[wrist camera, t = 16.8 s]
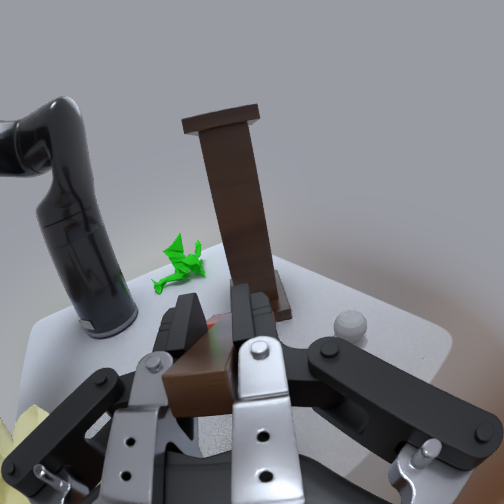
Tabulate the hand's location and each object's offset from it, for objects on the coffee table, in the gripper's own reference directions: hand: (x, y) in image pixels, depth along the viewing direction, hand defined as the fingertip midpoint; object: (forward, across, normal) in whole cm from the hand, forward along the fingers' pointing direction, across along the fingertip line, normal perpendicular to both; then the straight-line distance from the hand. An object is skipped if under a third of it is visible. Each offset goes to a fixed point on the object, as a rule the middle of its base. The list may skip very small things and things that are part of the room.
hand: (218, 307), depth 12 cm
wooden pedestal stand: (+20, -2, +14) cm, 25 cm away
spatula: (+2, 0, +3) cm, 4 cm away
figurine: (+32, +6, +12) cm, 34 cm away
